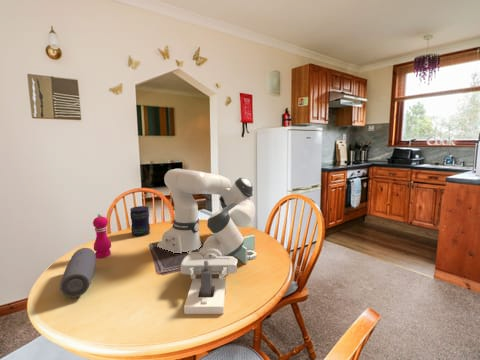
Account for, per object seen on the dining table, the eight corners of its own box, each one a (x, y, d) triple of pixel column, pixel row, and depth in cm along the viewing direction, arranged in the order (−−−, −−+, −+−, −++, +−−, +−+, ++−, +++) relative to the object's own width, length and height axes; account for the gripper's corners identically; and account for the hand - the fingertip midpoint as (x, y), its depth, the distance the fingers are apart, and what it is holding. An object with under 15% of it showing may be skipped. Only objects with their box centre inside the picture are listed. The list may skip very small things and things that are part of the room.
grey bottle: (203, 293, 88) (202, 258, 86) (212, 293, 88) (211, 258, 86) (201, 301, 84) (200, 264, 82) (210, 301, 84) (210, 264, 82)
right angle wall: (245, 265, 110) (245, 249, 109) (232, 254, 120) (232, 239, 119) (268, 259, 116) (268, 243, 115) (253, 249, 126) (253, 234, 125)
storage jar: (146, 237, 141) (144, 210, 138) (128, 236, 141) (126, 210, 138) (152, 230, 150) (151, 206, 148) (136, 230, 151) (134, 206, 148)
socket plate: (193, 284, 94) (192, 277, 94) (225, 284, 94) (225, 277, 94) (184, 314, 78) (184, 304, 78) (223, 313, 78) (223, 304, 78)
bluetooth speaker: (72, 271, 103) (69, 248, 102) (98, 267, 107) (96, 244, 106) (59, 304, 83) (56, 275, 81) (92, 297, 87) (89, 269, 85)
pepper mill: (98, 252, 122) (95, 211, 118) (114, 251, 122) (111, 211, 119) (91, 259, 114) (87, 216, 111) (108, 258, 115) (104, 215, 112)
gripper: (237, 265, 100) (238, 285, 86) (185, 266, 100) (177, 285, 86) (237, 250, 99) (237, 267, 85) (184, 250, 99) (176, 268, 85)
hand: (207, 276), depth 86 cm, fingers open, 8 cm apart
